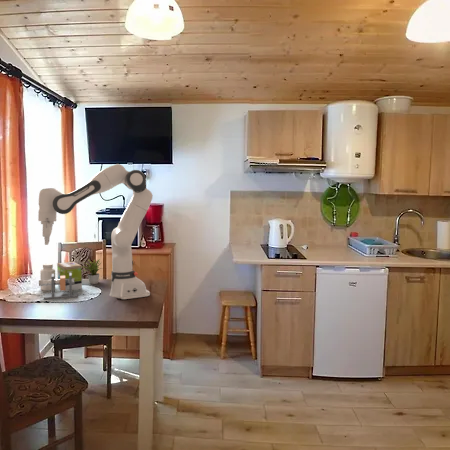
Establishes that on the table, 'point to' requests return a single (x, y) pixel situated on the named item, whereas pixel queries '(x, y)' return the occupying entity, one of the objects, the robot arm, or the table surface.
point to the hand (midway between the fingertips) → (47, 243)
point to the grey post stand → (61, 294)
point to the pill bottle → (47, 275)
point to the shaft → (56, 282)
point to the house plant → (93, 272)
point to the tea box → (76, 274)
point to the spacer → (62, 283)
